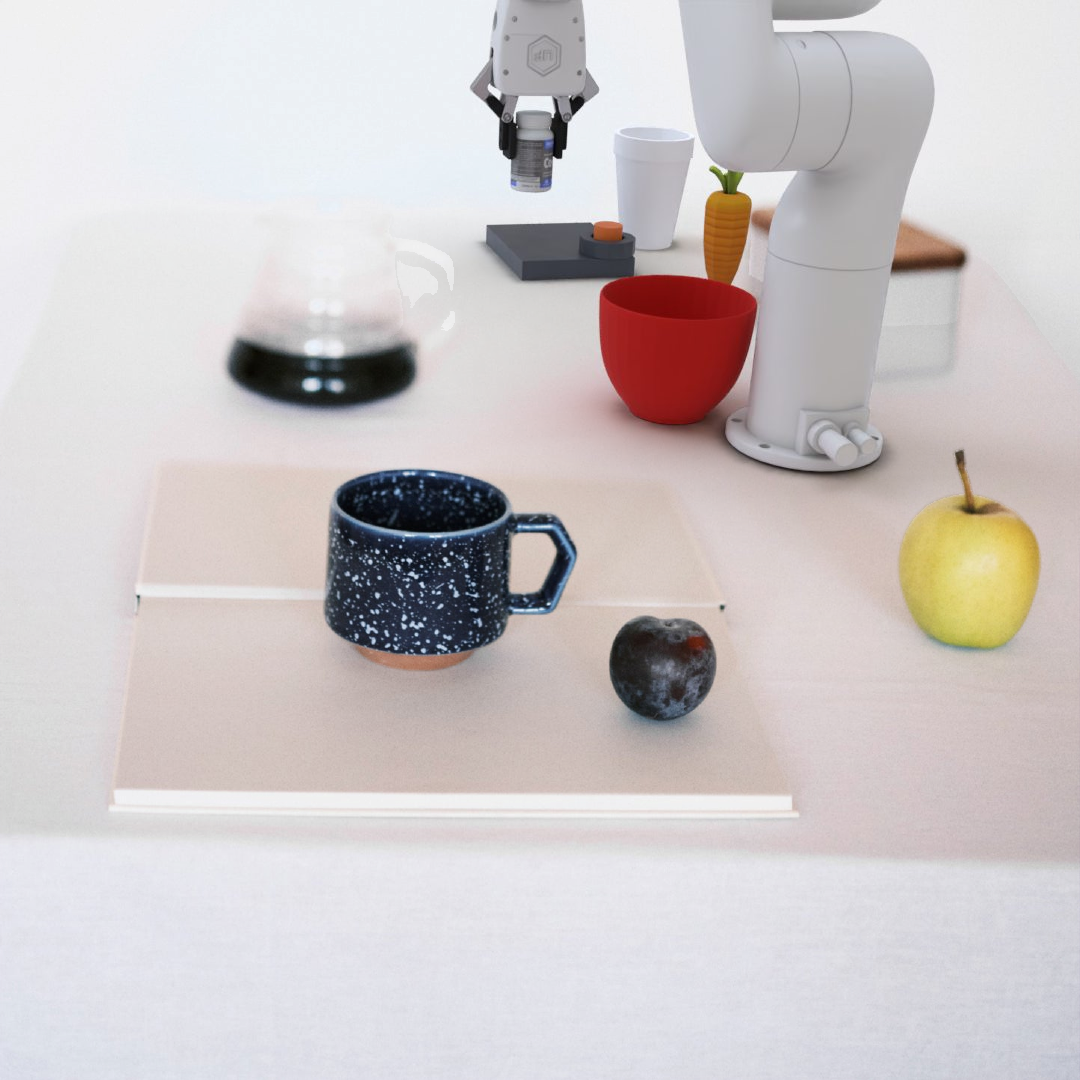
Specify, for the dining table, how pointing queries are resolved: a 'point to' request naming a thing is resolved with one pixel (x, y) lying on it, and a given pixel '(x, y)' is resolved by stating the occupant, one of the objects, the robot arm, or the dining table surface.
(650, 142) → the foam cup
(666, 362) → the ceramic cup
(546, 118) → the pill bottle
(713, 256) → the carrot
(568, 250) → the scale
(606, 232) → the button
